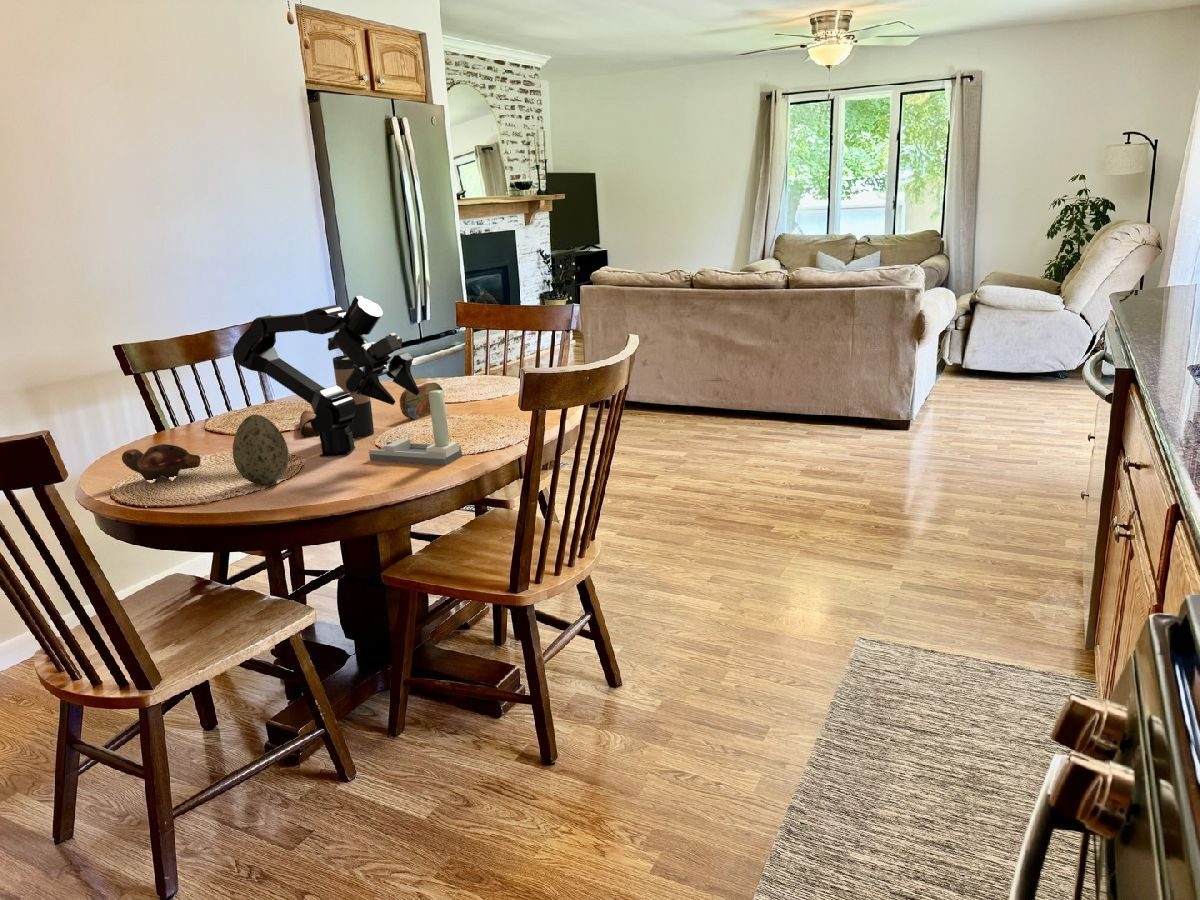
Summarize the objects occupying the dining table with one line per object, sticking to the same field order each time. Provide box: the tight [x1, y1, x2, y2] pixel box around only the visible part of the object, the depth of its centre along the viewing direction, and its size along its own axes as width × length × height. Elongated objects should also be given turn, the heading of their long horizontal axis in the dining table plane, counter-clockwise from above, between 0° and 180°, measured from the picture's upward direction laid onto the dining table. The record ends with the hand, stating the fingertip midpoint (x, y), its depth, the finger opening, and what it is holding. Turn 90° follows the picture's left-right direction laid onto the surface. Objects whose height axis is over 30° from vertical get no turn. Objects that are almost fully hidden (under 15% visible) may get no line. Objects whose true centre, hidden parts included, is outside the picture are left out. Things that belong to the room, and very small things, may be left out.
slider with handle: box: [426, 389, 460, 458], centre depth 181 cm, size 5×5×14 cm
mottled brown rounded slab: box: [399, 381, 445, 420], centre depth 225 cm, size 15×3×8 cm, turn 148°
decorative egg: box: [232, 414, 290, 485], centre depth 173 cm, size 11×11×15 cm
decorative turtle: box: [121, 443, 201, 481], centre depth 182 cm, size 10×15×8 cm, turn 120°
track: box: [368, 438, 463, 467], centre depth 185 cm, size 20×7×4 cm, turn 67°
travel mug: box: [332, 354, 375, 439], centre depth 207 cm, size 8×8×20 cm
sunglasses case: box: [299, 410, 320, 439], centre depth 219 cm, size 18×7×7 cm
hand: (406, 398), depth 182 cm, fingers open, 9 cm apart
